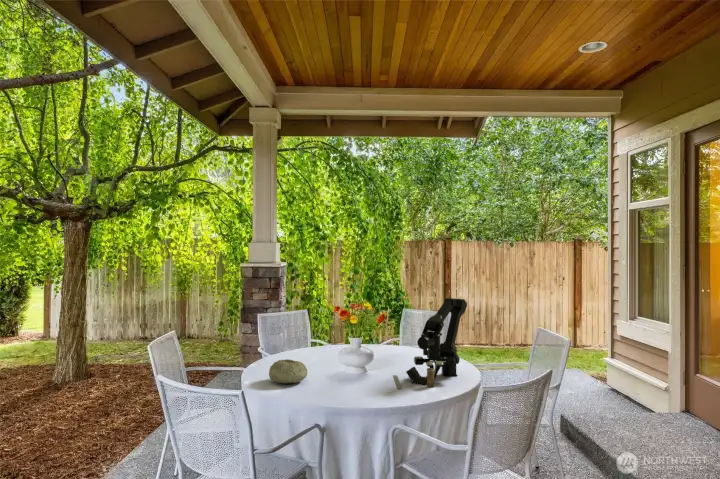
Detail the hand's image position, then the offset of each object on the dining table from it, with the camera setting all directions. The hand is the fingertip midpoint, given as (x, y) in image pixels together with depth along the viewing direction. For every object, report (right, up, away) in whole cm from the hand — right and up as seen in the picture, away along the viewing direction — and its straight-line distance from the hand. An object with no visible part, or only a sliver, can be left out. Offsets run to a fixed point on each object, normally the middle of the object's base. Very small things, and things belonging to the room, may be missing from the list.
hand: (434, 378), depth 216 cm
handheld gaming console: (-7, -1, 0) cm, 7 cm away
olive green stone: (-69, -1, -3) cm, 69 cm away
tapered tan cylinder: (-3, -1, -9) cm, 10 cm away
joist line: (-18, -1, -2) cm, 18 cm away
